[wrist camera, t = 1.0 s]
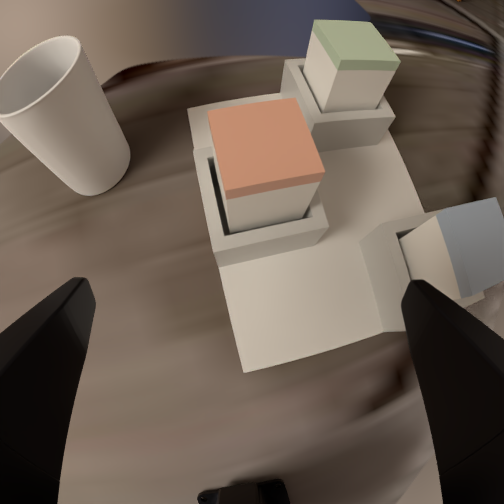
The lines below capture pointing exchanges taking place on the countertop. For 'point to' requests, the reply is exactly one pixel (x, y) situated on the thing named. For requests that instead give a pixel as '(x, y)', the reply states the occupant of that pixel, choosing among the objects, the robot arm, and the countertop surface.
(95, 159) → the mug
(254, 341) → the keypad
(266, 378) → the countertop surface
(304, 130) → the key terracotta
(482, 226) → the key slate
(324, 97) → the key sage
